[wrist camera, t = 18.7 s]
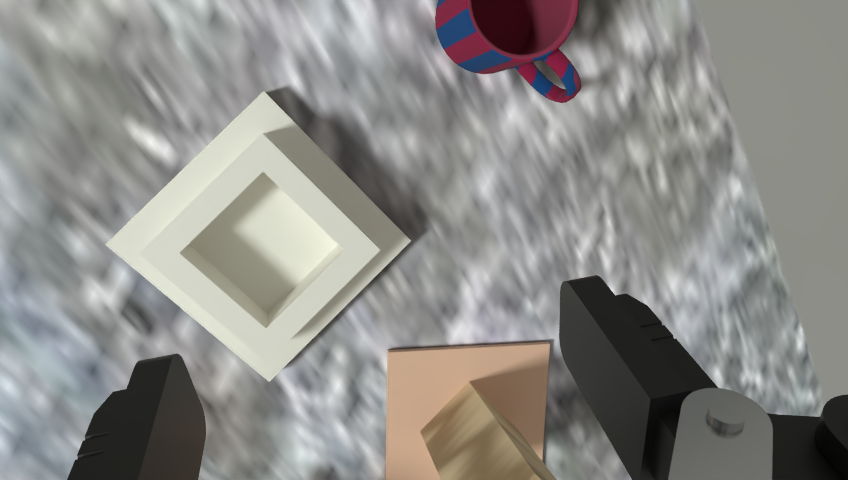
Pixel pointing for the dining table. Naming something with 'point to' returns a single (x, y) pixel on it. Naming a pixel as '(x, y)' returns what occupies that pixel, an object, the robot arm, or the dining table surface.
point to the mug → (511, 39)
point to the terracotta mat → (443, 378)
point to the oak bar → (479, 442)
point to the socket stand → (260, 238)
